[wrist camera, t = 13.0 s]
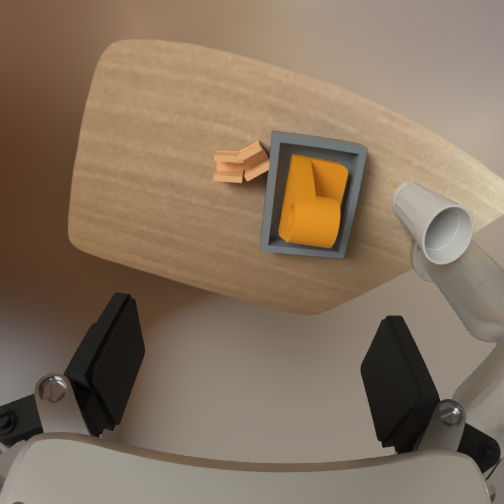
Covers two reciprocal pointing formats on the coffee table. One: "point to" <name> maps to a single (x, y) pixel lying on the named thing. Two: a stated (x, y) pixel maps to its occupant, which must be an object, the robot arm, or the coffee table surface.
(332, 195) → the bracket
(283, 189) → the gray tray
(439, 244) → the cup
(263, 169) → the clip
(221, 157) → the clip
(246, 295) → the coffee table surface
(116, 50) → the coffee table surface
